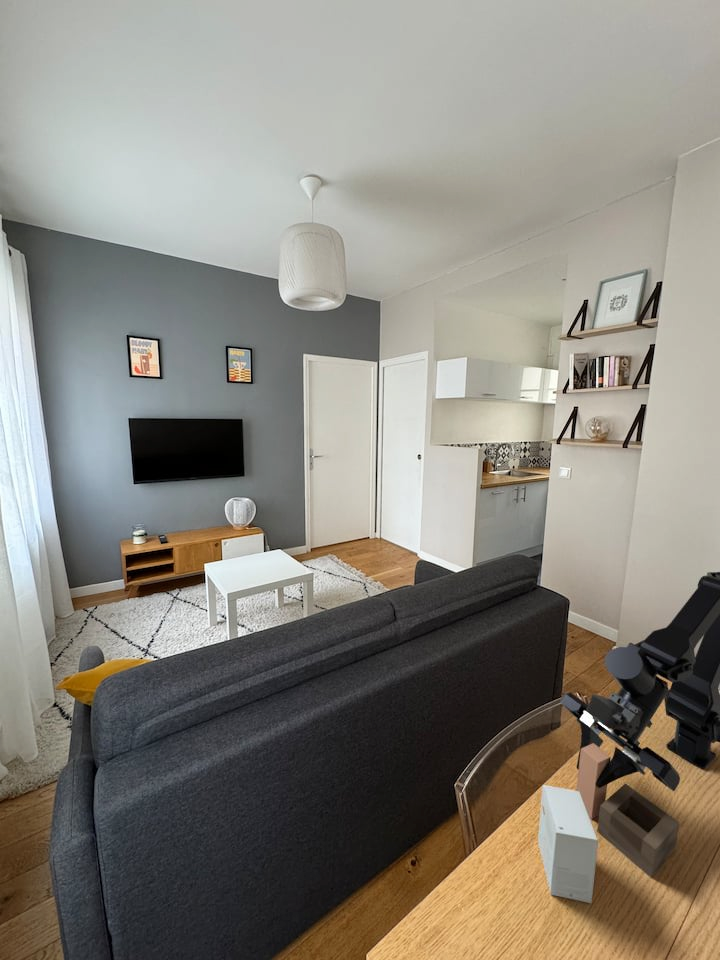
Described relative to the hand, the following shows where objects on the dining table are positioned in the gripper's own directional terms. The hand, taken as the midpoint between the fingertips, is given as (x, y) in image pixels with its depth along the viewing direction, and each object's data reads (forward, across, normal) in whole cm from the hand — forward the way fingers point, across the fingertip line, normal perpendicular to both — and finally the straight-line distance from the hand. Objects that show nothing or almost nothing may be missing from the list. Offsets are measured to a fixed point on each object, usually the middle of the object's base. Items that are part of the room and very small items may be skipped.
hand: (587, 777), depth 70 cm
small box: (+13, +5, -3) cm, 14 cm away
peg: (+4, 0, +6) cm, 7 cm away
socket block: (+2, +7, +7) cm, 10 cm away
